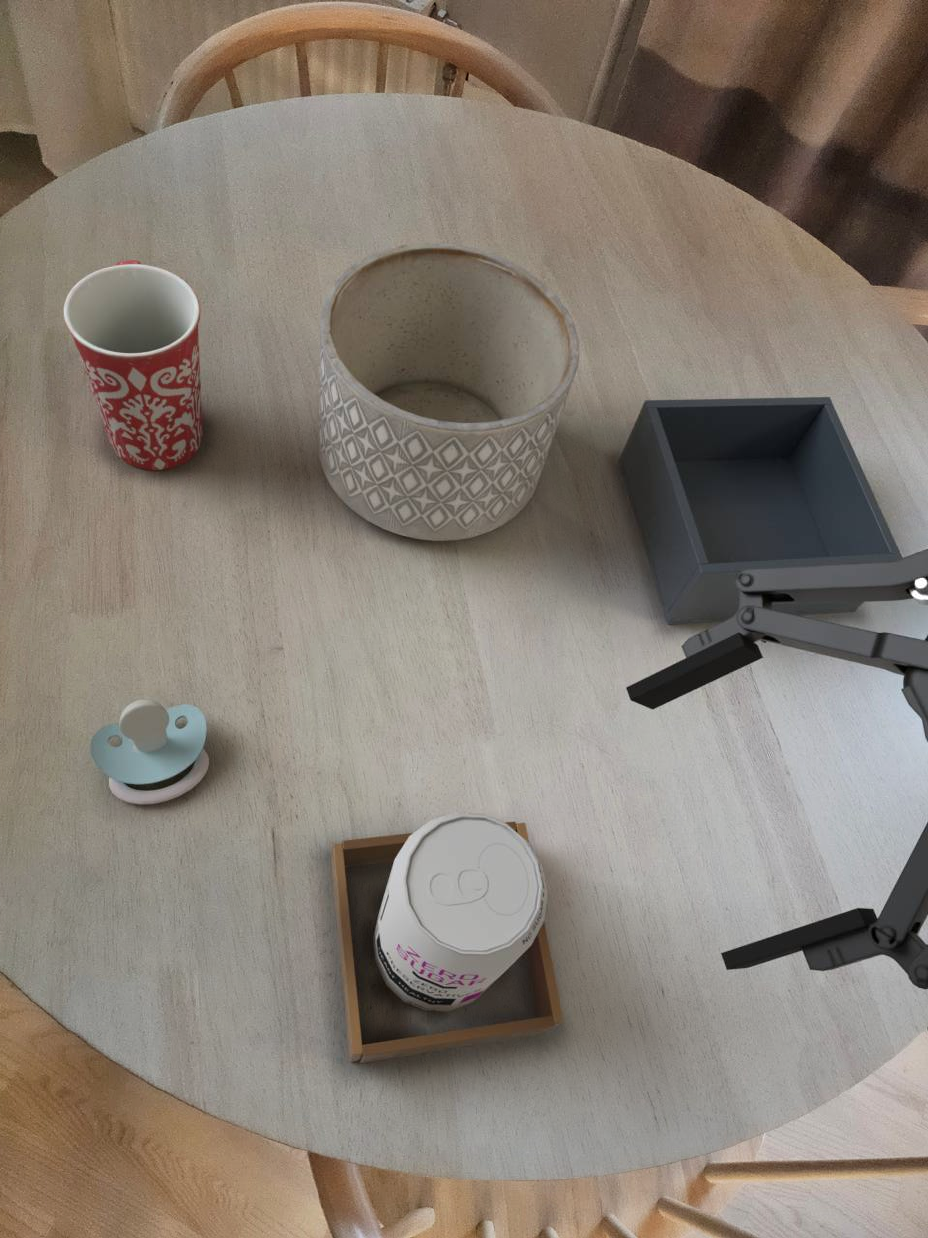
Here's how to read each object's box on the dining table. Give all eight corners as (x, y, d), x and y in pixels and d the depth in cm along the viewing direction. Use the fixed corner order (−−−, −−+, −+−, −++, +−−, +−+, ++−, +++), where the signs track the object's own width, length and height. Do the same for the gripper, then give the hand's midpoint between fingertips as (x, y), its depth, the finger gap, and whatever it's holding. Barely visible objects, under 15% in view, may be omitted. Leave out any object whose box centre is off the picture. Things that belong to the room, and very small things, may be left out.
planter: (360, 576, 73) (371, 455, 61) (289, 399, 81) (286, 260, 68) (573, 521, 79) (623, 401, 66) (487, 361, 87) (518, 227, 74)
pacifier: (223, 787, 63) (201, 708, 66) (216, 754, 58) (192, 669, 60) (110, 821, 61) (91, 738, 63) (92, 791, 56) (72, 701, 58)
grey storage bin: (854, 611, 78) (904, 561, 72) (667, 625, 75) (701, 573, 68) (790, 454, 86) (829, 396, 80) (618, 460, 83) (645, 399, 76)
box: (549, 1033, 58) (564, 1024, 55) (349, 1065, 56) (352, 1058, 52) (513, 838, 64) (524, 820, 61) (330, 859, 62) (332, 841, 58)
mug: (220, 476, 76) (205, 351, 64) (100, 485, 74) (63, 357, 62) (207, 361, 82) (191, 227, 70) (96, 366, 80) (61, 229, 68)
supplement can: (487, 871, 63) (534, 794, 50) (511, 1002, 59) (569, 955, 46) (365, 887, 61) (382, 812, 48) (381, 1024, 57) (405, 981, 44)
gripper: (1344, 946, 35) (807, 1082, 44) (1007, 431, 47) (635, 624, 56) (1379, 950, 29) (753, 1105, 39) (983, 360, 41) (573, 589, 50)
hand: (682, 821), depth 47 cm, fingers open, 13 cm apart
